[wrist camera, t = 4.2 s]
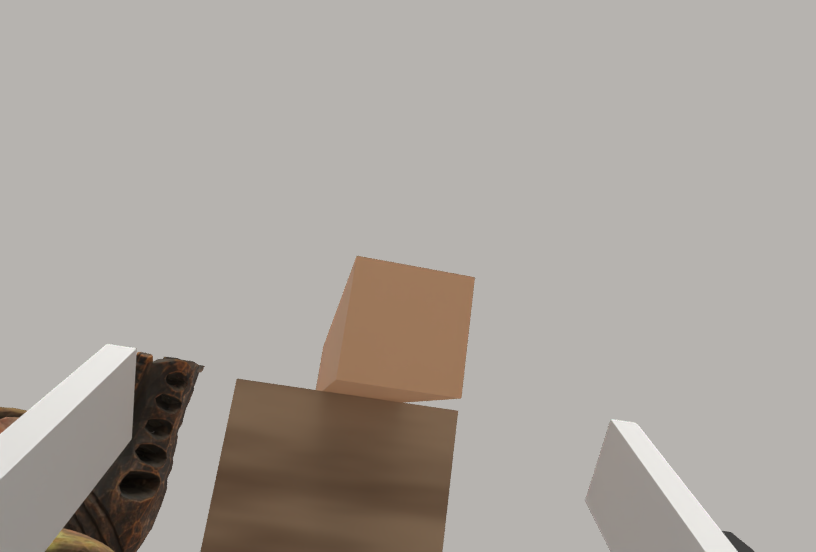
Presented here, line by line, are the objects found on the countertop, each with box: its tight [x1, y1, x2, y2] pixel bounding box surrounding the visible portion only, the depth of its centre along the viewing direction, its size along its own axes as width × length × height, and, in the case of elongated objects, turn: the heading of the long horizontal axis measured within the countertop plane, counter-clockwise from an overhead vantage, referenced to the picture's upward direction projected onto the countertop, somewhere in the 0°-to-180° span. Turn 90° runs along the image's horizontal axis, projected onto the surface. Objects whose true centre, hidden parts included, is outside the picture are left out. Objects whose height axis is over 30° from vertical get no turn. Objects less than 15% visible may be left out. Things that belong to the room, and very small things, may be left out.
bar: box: [316, 256, 475, 403], centre depth 28 cm, size 25×4×4 cm, turn 10°
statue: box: [63, 352, 204, 552], centre depth 47 cm, size 10×10×30 cm
